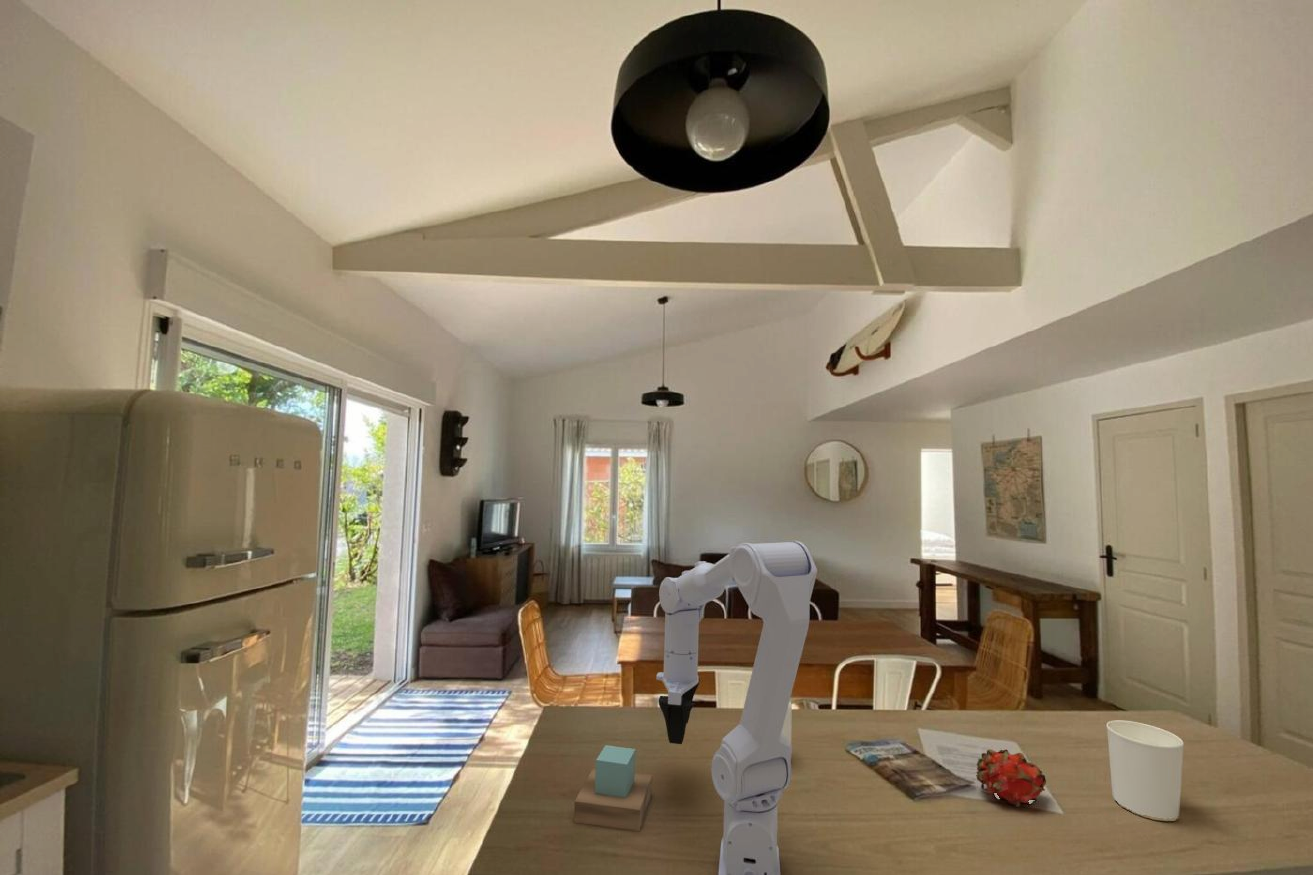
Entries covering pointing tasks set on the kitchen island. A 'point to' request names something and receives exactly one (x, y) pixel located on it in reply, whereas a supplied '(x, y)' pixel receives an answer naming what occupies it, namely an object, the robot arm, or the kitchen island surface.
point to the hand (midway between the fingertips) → (679, 732)
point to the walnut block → (614, 804)
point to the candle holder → (1145, 768)
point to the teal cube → (615, 771)
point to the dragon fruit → (1010, 776)
